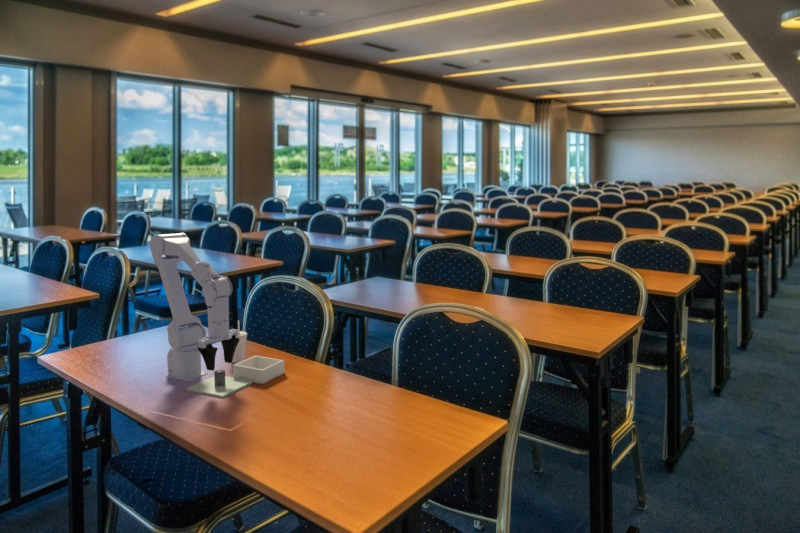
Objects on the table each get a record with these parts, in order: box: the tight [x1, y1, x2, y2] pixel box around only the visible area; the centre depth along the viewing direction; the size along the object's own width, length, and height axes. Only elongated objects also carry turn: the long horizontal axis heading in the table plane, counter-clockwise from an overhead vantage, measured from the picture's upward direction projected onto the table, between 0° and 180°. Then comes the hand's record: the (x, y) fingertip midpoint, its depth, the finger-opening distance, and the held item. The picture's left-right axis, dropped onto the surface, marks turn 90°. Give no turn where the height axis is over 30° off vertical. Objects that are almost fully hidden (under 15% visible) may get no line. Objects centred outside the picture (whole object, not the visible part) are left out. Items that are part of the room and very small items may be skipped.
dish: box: [232, 355, 286, 385], centre depth 183 cm, size 11×11×4 cm
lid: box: [185, 369, 253, 399], centre depth 173 cm, size 13×13×5 cm
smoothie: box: [232, 320, 248, 364], centre depth 196 cm, size 6×6×14 cm
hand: (219, 366), depth 172 cm, fingers open, 7 cm apart
